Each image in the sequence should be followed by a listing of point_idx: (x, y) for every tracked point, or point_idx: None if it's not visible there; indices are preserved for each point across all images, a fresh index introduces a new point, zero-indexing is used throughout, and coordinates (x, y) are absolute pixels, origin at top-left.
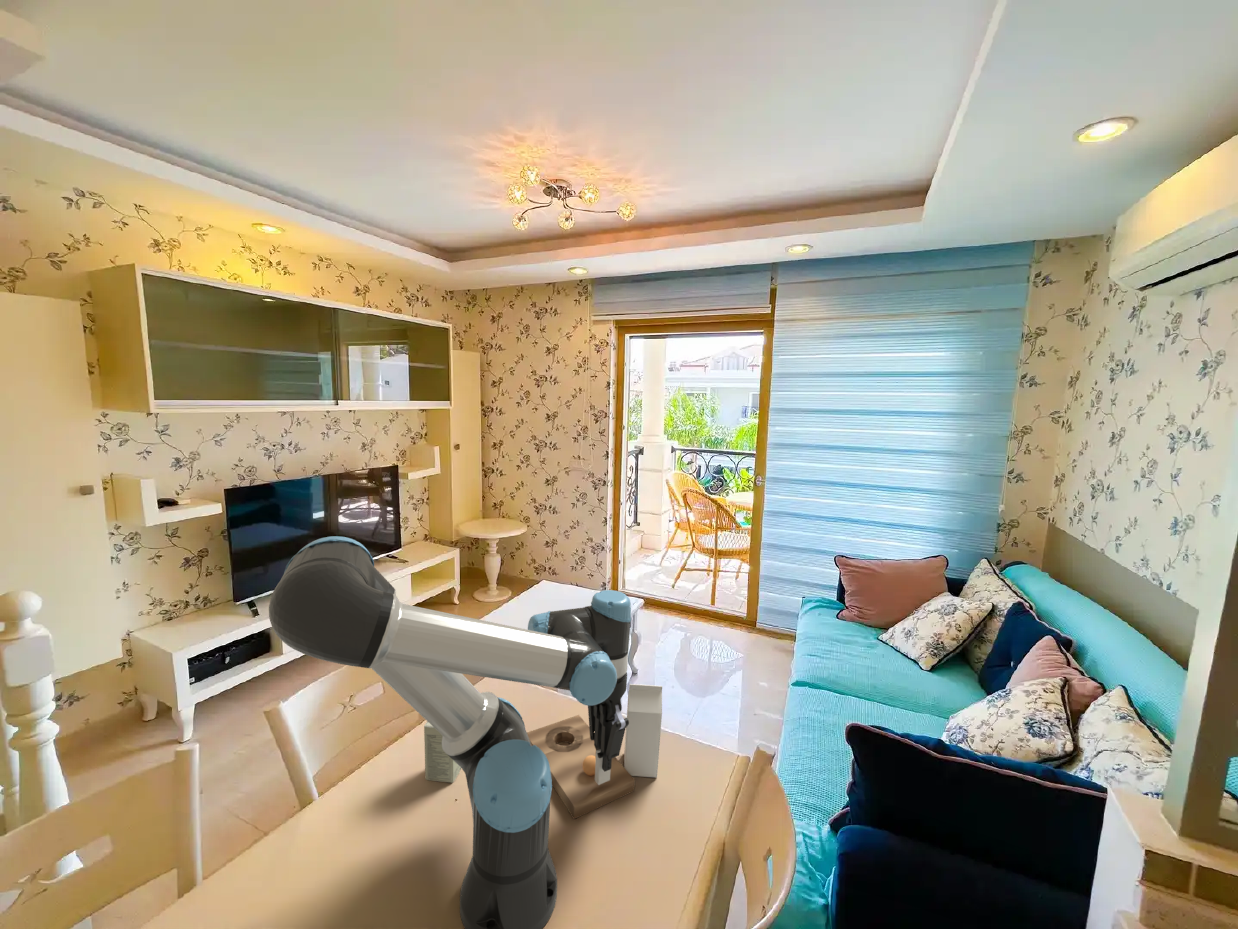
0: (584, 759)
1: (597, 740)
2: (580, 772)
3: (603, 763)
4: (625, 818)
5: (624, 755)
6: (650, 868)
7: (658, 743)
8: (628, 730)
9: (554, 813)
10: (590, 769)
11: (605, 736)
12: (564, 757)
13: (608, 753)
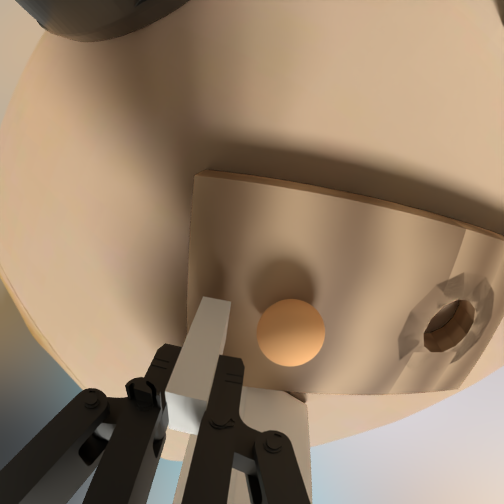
0: (318, 332)
1: (192, 456)
2: (317, 290)
3: (168, 368)
4: (134, 286)
5: (292, 402)
6: (30, 240)
7: (181, 473)
8: (231, 490)
9: (265, 130)
10: (266, 319)
11: (88, 496)
12: (407, 288)
13: (70, 416)
